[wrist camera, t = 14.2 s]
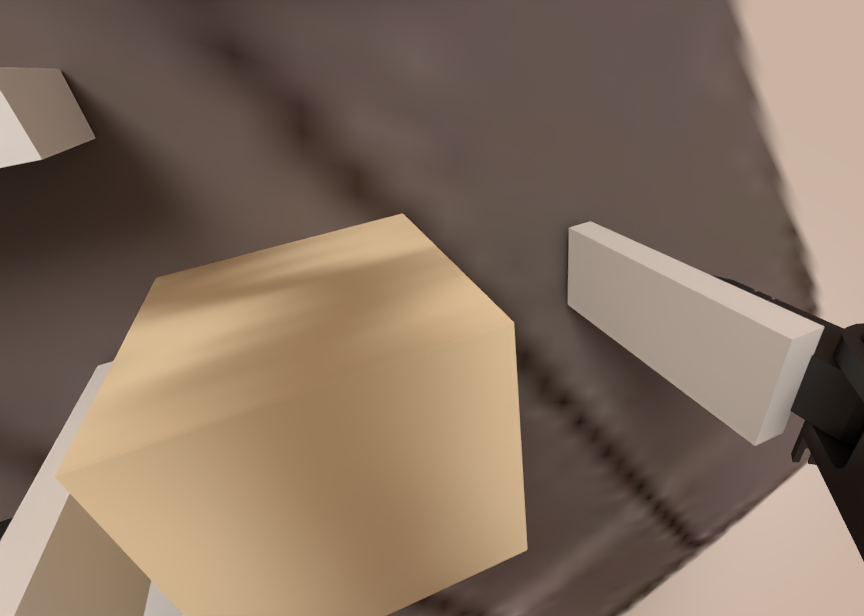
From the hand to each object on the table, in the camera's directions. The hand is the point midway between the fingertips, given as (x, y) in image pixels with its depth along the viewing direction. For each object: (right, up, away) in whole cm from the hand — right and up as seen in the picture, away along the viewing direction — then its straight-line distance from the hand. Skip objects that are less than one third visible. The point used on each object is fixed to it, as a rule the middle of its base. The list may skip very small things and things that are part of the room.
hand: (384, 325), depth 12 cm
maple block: (-2, 0, 0) cm, 2 cm away
